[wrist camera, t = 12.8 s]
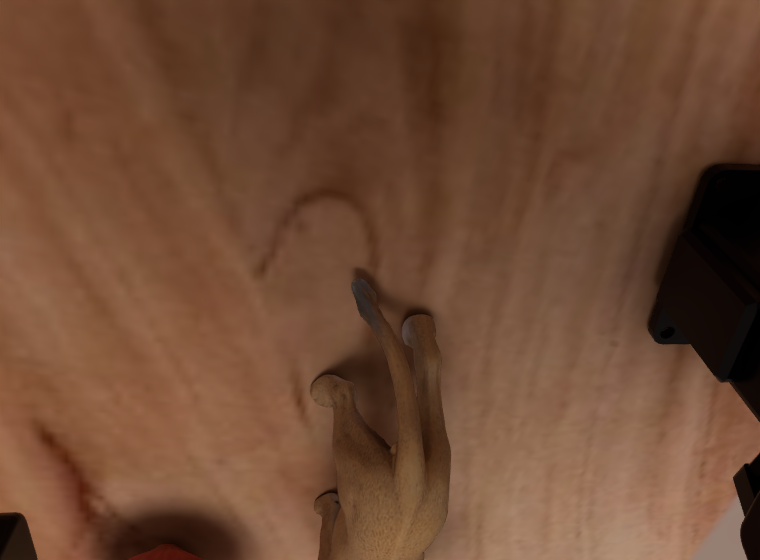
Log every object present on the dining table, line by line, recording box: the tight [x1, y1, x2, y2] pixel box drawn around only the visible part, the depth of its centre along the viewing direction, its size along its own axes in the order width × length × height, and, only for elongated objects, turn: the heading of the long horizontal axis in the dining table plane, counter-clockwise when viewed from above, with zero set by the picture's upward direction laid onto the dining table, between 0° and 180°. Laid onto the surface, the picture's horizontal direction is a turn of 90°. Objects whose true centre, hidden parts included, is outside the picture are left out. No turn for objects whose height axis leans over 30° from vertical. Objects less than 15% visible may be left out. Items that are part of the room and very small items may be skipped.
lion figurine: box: [310, 278, 451, 560], centre depth 23 cm, size 15×5×9 cm, turn 4°
